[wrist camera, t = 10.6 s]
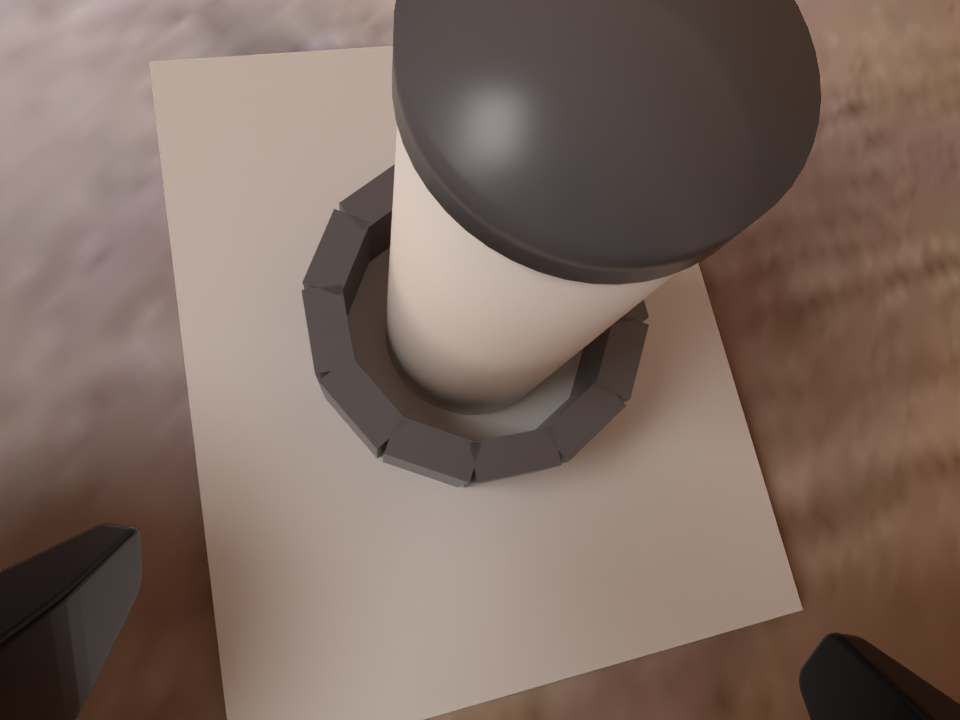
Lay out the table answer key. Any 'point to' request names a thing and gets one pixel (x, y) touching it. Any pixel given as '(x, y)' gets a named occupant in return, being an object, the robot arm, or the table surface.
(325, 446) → the socket
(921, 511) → the table surface
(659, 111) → the canister
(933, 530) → the table surface
